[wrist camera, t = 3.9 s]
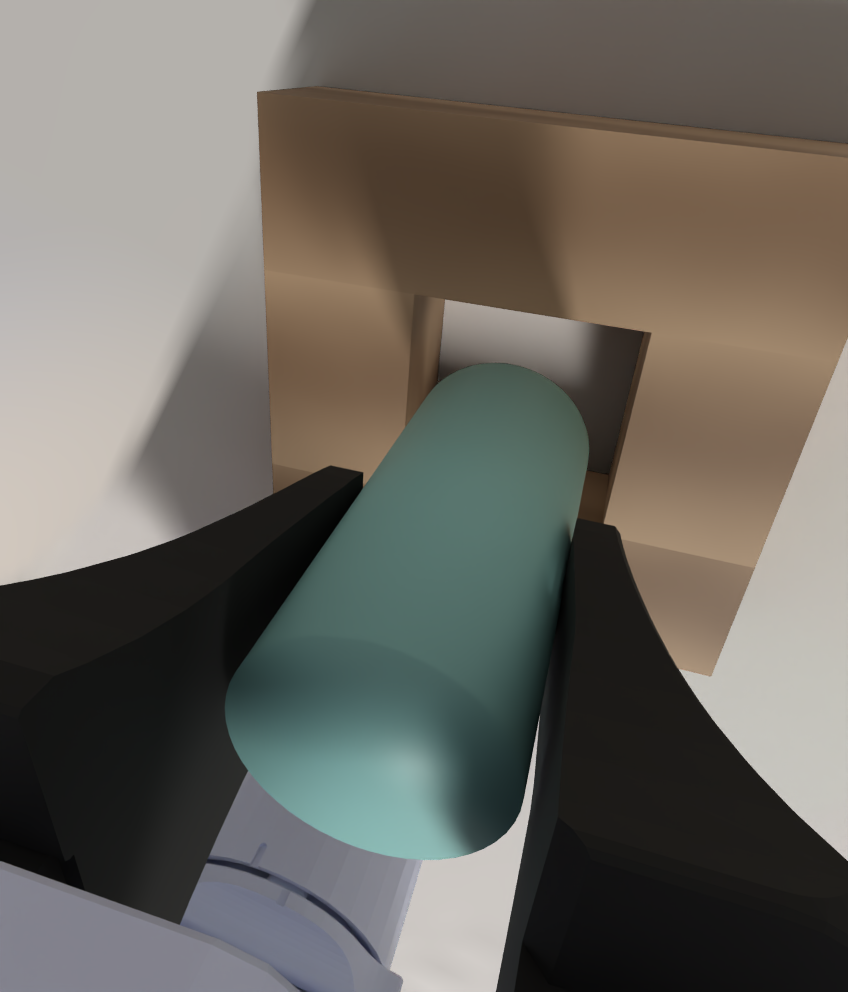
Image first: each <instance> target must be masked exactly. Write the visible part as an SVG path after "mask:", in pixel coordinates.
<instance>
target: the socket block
mask: <svg viewBox="0 0 848 992" xmlns="http://www.w3.org/2000/svg"><path fill="white" fill-rule="evenodd" d="M257 103H258V127H259V152H260V176H261V201H262V226H263V250H264V275H265V299H266V324H267V349H268V373H269V398H270V422H271V447H272V471H273V494H274V493H276V492H278V491H280V490H282V489H284V488H286V487H288V486H290V485H292V484H293V483H295V482H297V481H299V480H301V479H303V478H305V477H307V476H309V475H311V474H313V473H315V472H317V471H319V470H321V469H323V468H325V467H328V466H330V465H332V466H336V467H341V468H346V469H350V470H355V471H360V472H364V473H363V488H364V486H365V485H366V483H367V482H368V480H369V479H370V477H371V476H372V475H373V473H374V472H375V470H376V469H377V467H378V466H379V465H380V463H381V462H382V460H383V459H384V457H385V456H386V454H387V453H388V452H389V450H390V449H391V447H392V446H393V444H394V443H395V441H396V440H397V439H398V437H399V436H400V434H401V433H402V431H403V430H404V428H405V427H406V426H407V424H408V423H409V421H410V420H411V418H412V417H413V416H414V414H415V413H416V411H417V410H418V408H419V407H420V405H421V404H422V403H423V401H424V400H425V398H426V397H427V395H428V394H429V393H430V392H431V390H432V389H433V388H434V387H435V386H436V385H437V379H438V368H439V357H440V346H441V335H442V325H443V314H444V303H445V299H446V300H453V301H459V302H465V303H471V304H477V305H483V306H490V307H496V308H502V309H508V310H514V311H521V312H527V313H533V314H539V315H545V316H551V317H558V318H564V319H570V320H576V321H582V322H588V323H595V324H601V325H607V326H613V327H619V328H625V329H632V330H638V331H644V334H643V338H642V342H641V346H640V350H639V355H638V359H637V363H636V367H635V371H634V375H633V379H632V383H631V387H630V391H629V395H628V399H627V403H626V407H625V411H624V415H623V419H622V424H621V428H620V432H619V436H618V440H617V444H616V448H615V452H614V456H613V460H612V464H611V468H610V472H609V475H607V474H602V473H597V472H592V471H587V470H586V475H585V480H584V485H583V491H582V496H581V501H580V506H579V511H578V517H577V518H580V519H584V520H589V521H594V522H598V523H603V524H608V525H612V526H615V527H616V528H617V530H618V531H619V532H620V534H621V540H622V544H623V548H624V551H625V554H626V558H627V561H628V564H629V566H630V569H631V572H632V575H633V578H634V580H635V583H636V585H637V588H638V590H639V592H640V595H641V597H642V599H643V601H644V604H645V606H646V608H647V610H648V613H649V615H650V617H651V619H652V621H653V623H654V625H655V627H656V629H657V631H658V633H659V635H660V637H661V639H662V641H663V643H664V644H665V646H666V648H667V650H668V652H669V654H670V655H671V657H672V659H673V661H674V662H675V664H676V666H677V668H678V669H682V670H686V671H690V672H694V673H698V674H702V675H707V676H711V675H712V673H713V670H714V668H715V665H716V663H717V660H718V658H719V656H720V653H721V651H722V648H723V646H724V643H725V641H726V638H727V636H728V633H729V631H730V628H731V626H732V623H733V621H734V618H735V616H736V613H737V611H738V608H739V606H740V603H741V601H742V598H743V596H744V593H745V591H746V589H747V586H748V584H749V581H750V579H751V576H752V574H753V571H754V569H755V566H756V564H757V561H758V559H759V556H760V554H761V551H762V549H763V546H764V544H765V541H766V539H767V536H768V534H769V531H770V529H771V526H772V524H773V522H774V519H775V517H776V514H777V512H778V509H779V507H780V504H781V502H782V499H783V497H784V494H785V492H786V489H787V487H788V484H789V482H790V479H791V477H792V474H793V472H794V469H795V467H796V464H797V462H798V460H799V457H800V455H801V452H802V450H803V447H804V445H805V442H806V440H807V437H808V435H809V432H810V430H811V427H812V425H813V422H814V420H815V417H816V415H817V412H818V410H819V407H820V405H821V402H822V400H823V397H824V395H825V393H826V390H827V388H828V385H829V383H830V380H831V378H832V375H833V373H834V370H835V368H836V365H837V363H838V360H839V358H840V355H841V353H842V350H843V348H844V345H845V343H846V340H847V338H848V144H846V143H837V142H827V141H818V140H809V139H800V138H790V137H781V136H772V135H763V134H753V133H744V132H735V131H726V130H716V129H707V128H698V127H689V126H680V125H670V124H661V123H652V122H643V121H633V120H624V119H615V118H606V117H596V116H587V115H578V114H569V113H559V112H550V111H541V110H532V109H522V108H513V107H504V106H495V105H485V104H476V103H467V102H458V101H448V100H439V99H430V98H421V97H412V96H402V95H393V94H384V93H375V92H365V91H356V90H347V89H338V88H328V87H319V86H314V87H303V88H293V89H282V90H271V91H261V92H257Z"/></svg>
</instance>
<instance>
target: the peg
mask: <svg viewBox="0 0 848 992" xmlns="http://www.w3.org/2000/svg"><path fill="white" fill-rule="evenodd" d="M588 458H589V439H588V434H587V430H586V426H585V424H584V421H583V418H582V416H581V414H580V412H579V411H578V409H577V407H576V406H575V404H574V403H573V401H572V400H571V399H570V397H569V396H568V395H567V394H566V393H565V392H564V391H563V390H562V389H561V388H560V387H558V386H557V385H556V384H555V383H553V382H552V381H551V380H549V379H547V378H546V377H544V376H543V375H541V374H539V373H537V372H534V371H532V370H530V369H527V368H524V367H521V366H516V365H511V364H504V363H485V364H478V365H473V366H469V367H466V368H463V369H460V370H458V371H456V372H454V373H452V374H450V375H449V376H447V377H446V378H445V379H443V380H442V381H441V382H439V383H438V384H437V385H436V386H435V387H434V388H433V389H432V390H431V392H430V393H429V394H428V395H427V397H426V398H425V400H424V401H423V403H422V404H421V405H420V407H419V408H418V410H417V411H416V413H415V414H414V416H413V417H412V418H411V420H410V421H409V423H408V424H407V426H406V427H405V428H404V430H403V431H402V433H401V434H400V436H399V437H398V439H397V440H396V441H395V443H394V444H393V446H392V447H391V449H390V450H389V452H388V453H387V454H386V456H385V457H384V459H383V460H382V462H381V463H380V465H379V466H378V467H377V469H376V470H375V472H374V473H373V475H372V476H371V477H370V479H369V480H368V482H367V483H366V485H365V486H364V488H363V489H362V490H361V492H360V493H359V495H358V496H357V498H356V499H355V501H354V502H353V503H352V505H351V506H350V508H349V509H348V511H347V512H346V514H345V515H344V516H343V518H342V519H341V521H340V522H339V524H338V525H337V526H336V528H335V529H334V531H333V532H332V534H331V535H330V537H329V538H328V539H327V541H326V542H325V544H324V545H323V547H322V548H321V550H320V551H319V552H318V554H317V555H316V557H315V558H314V560H313V561H312V562H311V564H310V565H309V567H308V568H307V570H306V571H305V573H304V574H303V575H302V577H301V578H300V580H299V581H298V583H297V584H296V586H295V587H294V588H293V590H292V591H291V593H290V594H289V596H288V597H287V599H286V600H285V601H284V603H283V604H282V606H281V607H280V609H279V610H278V611H277V613H276V614H275V616H274V617H273V619H272V620H271V622H270V623H269V624H268V626H267V627H266V629H265V630H264V632H263V633H262V635H261V636H260V637H259V639H258V640H257V642H256V643H255V645H254V646H253V647H252V649H251V650H250V652H249V653H248V655H247V656H246V658H245V659H244V660H243V662H242V663H241V665H240V666H239V668H238V669H237V671H236V672H235V674H234V676H233V678H232V679H231V681H230V683H229V687H228V690H227V693H226V700H225V717H226V724H227V728H228V732H229V736H230V738H231V741H232V743H233V746H234V748H235V750H236V752H237V754H238V755H239V757H240V759H241V761H242V762H243V764H244V765H245V767H246V768H247V770H248V771H249V772H250V774H251V775H252V776H253V777H254V779H255V780H256V781H257V782H258V783H259V784H260V786H261V787H262V788H263V789H264V790H265V791H266V792H267V793H268V794H269V795H270V796H271V797H272V798H274V799H275V800H276V801H277V802H278V803H279V804H281V805H282V806H283V807H284V808H285V809H287V810H288V811H289V812H291V813H292V814H294V815H295V816H296V817H298V818H299V819H301V820H302V821H304V822H305V823H307V824H309V825H310V826H312V827H314V828H315V829H317V830H319V831H321V832H323V833H325V834H327V835H329V836H331V837H333V838H335V839H337V840H340V841H342V842H345V843H347V844H349V845H352V846H355V847H358V848H361V849H364V850H367V851H370V852H374V853H378V854H382V855H386V856H392V857H398V858H404V859H417V860H440V859H448V858H456V857H460V856H464V855H468V854H471V853H474V852H476V851H479V850H482V849H484V848H486V847H487V846H489V845H491V844H493V843H494V842H496V841H497V840H498V839H500V838H501V837H502V836H503V835H504V834H506V833H507V831H508V830H509V829H510V828H511V826H512V825H513V824H514V823H515V821H516V819H517V817H518V815H519V813H520V811H521V807H522V803H523V799H524V794H525V789H526V784H527V779H528V773H529V768H530V763H531V758H532V752H533V747H534V742H535V737H536V731H537V726H538V721H539V716H540V711H541V705H542V700H543V695H544V690H545V684H546V679H547V674H548V669H549V663H550V658H551V653H552V648H553V642H554V637H555V632H556V627H557V621H558V616H559V611H560V606H561V599H562V592H563V584H564V578H565V573H566V568H567V562H568V557H569V552H570V547H571V542H572V537H573V533H574V529H575V524H576V520H577V517H578V511H579V506H580V501H581V496H582V491H583V485H584V480H585V475H586V470H587V464H588Z"/></svg>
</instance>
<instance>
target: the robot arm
mask: <svg viewBox="0 0 848 992" xmlns="http://www.w3.org/2000/svg"><path fill="white" fill-rule="evenodd" d="M363 473H364V472H360V471H355V470H350V469H346V468H341V467H336V466H332V465H330V466H328V467H325V468H323V469H321V470H319V471H317V472H315V473H313V474H311V475H309V476H307V477H305V478H303V479H301V480H299V481H297V482H295V483H293V484H292V485H290V486H288V487H286V488H284V489H282V490H280V491H278V492H276V493H274V494H272V495H270V496H268V497H267V498H265V499H263V500H261V501H259V502H257V503H255V504H253V505H251V506H249V507H247V508H245V509H243V510H241V511H239V512H236V513H234V514H232V515H230V516H228V517H225V518H223V519H221V520H219V521H217V522H214V523H212V524H210V525H208V526H205V527H203V528H201V529H199V530H197V531H194V532H192V533H189V534H187V535H185V536H182V537H179V538H177V539H174V540H172V541H169V542H166V543H164V544H161V545H158V546H155V547H152V548H149V549H146V550H143V551H140V552H138V553H134V554H131V555H128V556H125V557H121V558H118V559H114V560H110V561H107V562H103V563H99V564H96V565H92V566H88V567H85V568H81V569H77V570H74V571H70V572H66V573H62V574H57V575H52V576H48V577H43V578H38V579H34V580H29V581H23V582H18V583H12V584H7V585H1V586H0V992H400V991H401V987H402V984H403V979H402V977H401V976H399V975H397V974H396V973H394V972H392V971H390V967H391V964H392V961H393V957H394V954H395V951H396V947H397V944H398V941H399V937H400V934H401V931H402V927H403V924H404V921H405V917H406V914H407V911H408V907H409V904H410V901H411V897H412V894H413V891H414V887H415V884H416V881H417V877H418V874H419V871H420V867H421V864H422V861H423V860H417V859H404V858H398V857H392V856H386V855H382V854H378V853H374V852H370V851H367V850H364V849H361V848H358V847H355V846H352V845H349V844H347V843H345V842H342V841H340V840H337V839H335V838H333V837H331V836H329V835H327V834H325V833H323V832H321V831H319V830H317V829H315V828H314V827H312V826H310V825H309V824H307V823H305V822H304V821H302V820H301V819H299V818H298V817H296V816H295V815H294V814H292V813H291V812H289V811H288V810H287V809H285V808H284V807H283V806H282V805H281V804H279V803H278V802H277V801H276V800H275V799H274V798H272V797H271V796H270V795H269V794H268V793H267V792H266V791H265V790H264V789H263V788H262V787H261V786H260V784H259V783H258V782H257V781H256V780H255V779H254V777H253V776H252V775H251V774H250V772H249V771H248V770H247V768H246V767H245V765H244V764H243V762H242V761H241V759H240V757H239V755H238V754H237V752H236V750H235V748H234V746H233V743H232V741H231V738H230V736H229V732H228V728H227V724H226V717H225V700H226V693H227V690H228V687H229V683H230V681H231V679H232V678H233V676H234V674H235V672H236V671H237V669H238V668H239V666H240V665H241V663H242V662H243V660H244V659H245V658H246V656H247V655H248V653H249V652H250V650H251V649H252V647H253V646H254V645H255V643H256V642H257V640H258V639H259V637H260V636H261V635H262V633H263V632H264V630H265V629H266V627H267V626H268V624H269V623H270V622H271V620H272V619H273V617H274V616H275V614H276V613H277V611H278V610H279V609H280V607H281V606H282V604H283V603H284V601H285V600H286V599H287V597H288V596H289V594H290V593H291V591H292V590H293V588H294V587H295V586H296V584H297V583H298V581H299V580H300V578H301V577H302V575H303V574H304V573H305V571H306V570H307V568H308V567H309V565H310V564H311V562H312V561H313V560H314V558H315V557H316V555H317V554H318V552H319V551H320V550H321V548H322V547H323V545H324V544H325V542H326V541H327V539H328V538H329V537H330V535H331V534H332V532H333V531H334V529H335V528H336V526H337V525H338V524H339V522H340V521H341V519H342V518H343V516H344V515H345V514H346V512H347V511H348V509H349V508H350V506H351V505H352V503H353V502H354V501H355V499H356V498H357V496H358V495H359V493H360V492H361V490H362V489H363ZM496 992H848V861H847V860H846V859H845V858H844V857H843V856H842V855H841V854H839V853H838V852H837V851H836V850H835V849H834V848H833V847H832V846H831V845H830V844H829V843H827V842H826V841H825V840H824V839H823V838H822V837H821V836H820V835H819V834H818V833H817V832H815V831H814V830H813V829H812V828H811V827H810V826H809V825H808V824H807V823H806V822H805V821H803V820H802V819H801V818H800V817H799V816H798V815H797V814H796V813H795V812H794V811H793V810H792V809H791V808H790V807H789V806H788V805H787V804H786V803H785V802H784V801H783V800H782V799H781V798H780V797H779V796H778V794H777V793H776V792H775V791H774V790H773V789H772V788H771V787H770V786H769V785H768V784H767V783H766V782H765V781H764V780H763V779H762V778H761V777H760V776H759V775H758V773H757V772H756V771H755V770H754V769H753V768H752V767H751V766H750V764H749V763H748V762H747V761H746V760H745V759H744V758H743V756H742V755H741V754H740V753H739V751H738V750H737V749H736V748H735V747H734V745H733V744H732V743H731V742H730V740H729V739H728V738H727V737H726V736H725V734H724V733H723V732H722V731H721V730H720V728H719V727H718V726H717V725H716V723H715V722H714V721H713V720H712V718H711V717H710V715H709V714H708V713H707V711H706V710H705V708H704V707H703V706H702V704H701V703H700V702H699V700H698V699H697V697H696V696H695V694H694V693H693V691H692V690H691V688H690V686H689V685H688V683H687V682H686V680H685V679H684V677H683V676H682V674H681V672H680V671H679V669H678V668H677V666H676V664H675V662H674V661H673V659H672V657H671V655H670V654H669V652H668V650H667V648H666V646H665V644H664V643H663V641H662V639H661V637H660V635H659V633H658V631H657V629H656V627H655V625H654V623H653V621H652V619H651V617H650V615H649V613H648V610H647V608H646V606H645V604H644V601H643V599H642V597H641V595H640V592H639V590H638V588H637V585H636V583H635V580H634V578H633V575H632V572H631V569H630V566H629V564H628V561H627V558H626V554H625V551H624V548H623V544H622V540H621V534H620V532H619V531H618V530H617V528H616V527H615V526H612V525H608V524H603V523H598V522H594V521H589V520H584V519H580V518H577V520H576V524H575V529H574V533H573V537H572V542H571V547H570V552H569V557H568V562H567V568H566V573H565V578H564V584H563V592H562V599H561V606H560V611H559V616H558V621H557V627H556V632H555V637H554V642H553V648H552V653H551V658H550V663H549V669H548V674H547V679H546V684H545V690H544V695H543V700H542V705H541V711H540V721H539V732H538V744H537V755H536V766H535V778H534V788H533V795H532V803H531V810H530V816H529V821H528V827H527V832H526V837H525V843H524V848H523V853H522V859H521V864H520V869H519V874H518V880H517V885H516V890H515V895H514V901H513V906H512V911H511V916H510V922H509V927H508V932H507V937H506V943H505V948H504V953H503V958H502V963H501V969H500V974H499V979H498V984H497V989H496Z"/></svg>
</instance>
